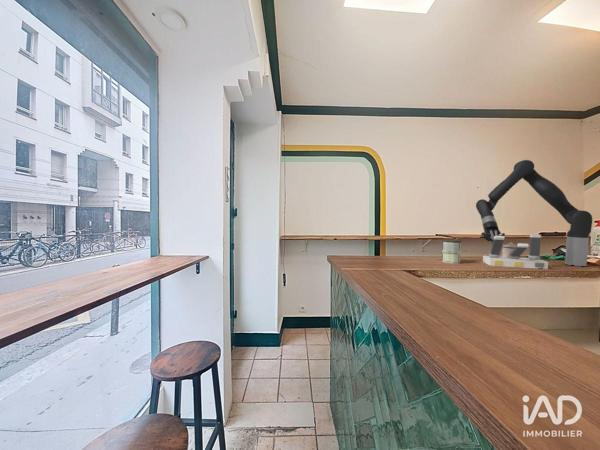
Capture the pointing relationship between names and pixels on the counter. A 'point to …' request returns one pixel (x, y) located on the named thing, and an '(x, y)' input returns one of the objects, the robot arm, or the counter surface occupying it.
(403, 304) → the counter surface
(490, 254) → the lever far
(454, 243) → the coffee can
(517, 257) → the lever middle
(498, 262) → the console
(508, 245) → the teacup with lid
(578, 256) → the robot arm
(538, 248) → the lever near
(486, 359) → the counter surface
